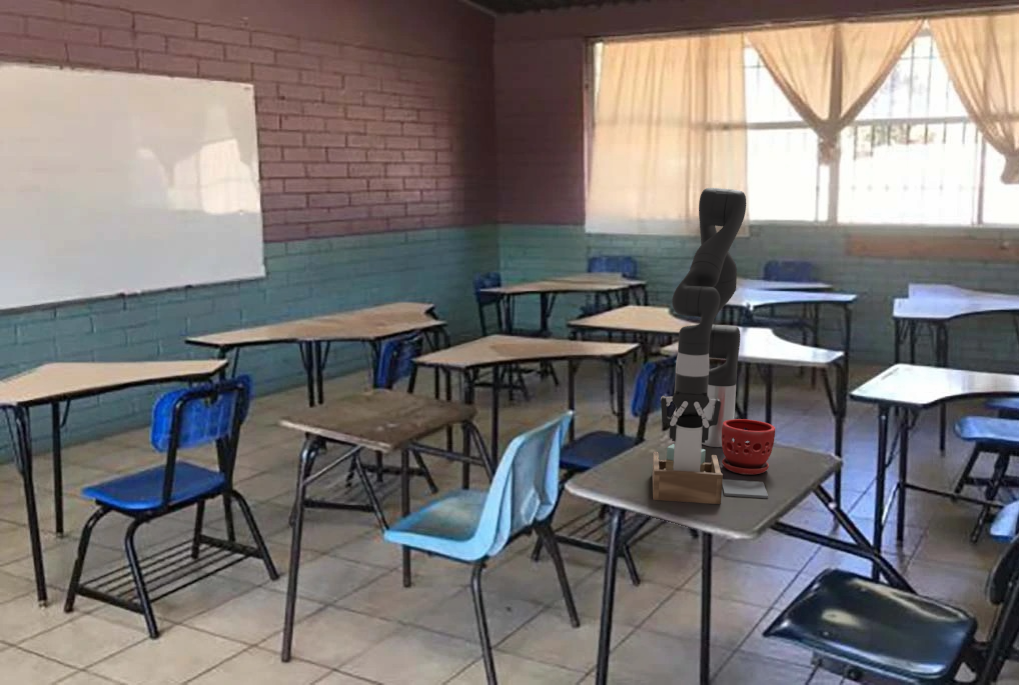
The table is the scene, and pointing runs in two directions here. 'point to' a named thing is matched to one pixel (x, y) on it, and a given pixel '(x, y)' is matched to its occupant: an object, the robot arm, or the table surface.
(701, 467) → the offcut mid
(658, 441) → the table surface
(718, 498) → the wooden box
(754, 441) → the plant pot
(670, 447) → the offcut top
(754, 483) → the mat
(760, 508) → the table surface
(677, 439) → the travel mug
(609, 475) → the table surface
